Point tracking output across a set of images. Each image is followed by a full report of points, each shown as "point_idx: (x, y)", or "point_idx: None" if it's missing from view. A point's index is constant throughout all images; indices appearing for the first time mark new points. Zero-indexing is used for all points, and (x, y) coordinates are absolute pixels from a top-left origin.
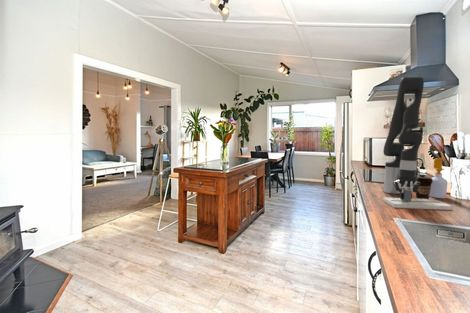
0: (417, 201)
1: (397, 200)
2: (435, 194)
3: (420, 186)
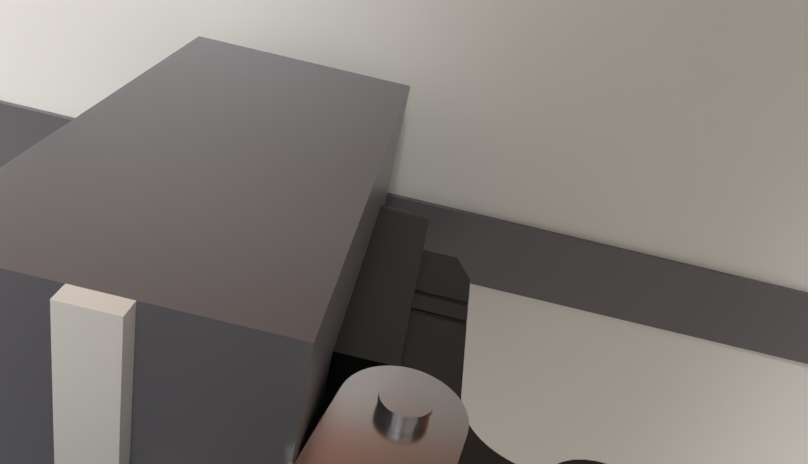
0: (661, 310)
1: (52, 126)
2: None
3: None
